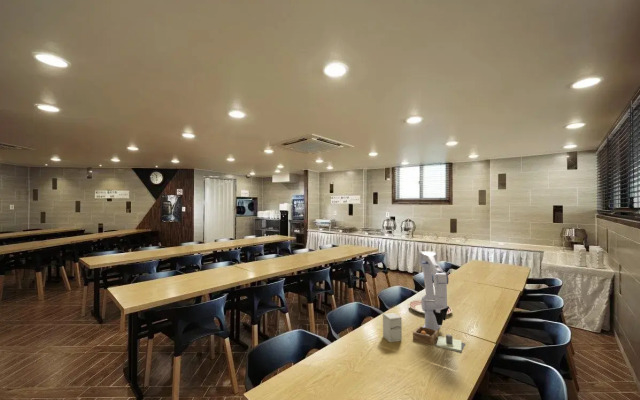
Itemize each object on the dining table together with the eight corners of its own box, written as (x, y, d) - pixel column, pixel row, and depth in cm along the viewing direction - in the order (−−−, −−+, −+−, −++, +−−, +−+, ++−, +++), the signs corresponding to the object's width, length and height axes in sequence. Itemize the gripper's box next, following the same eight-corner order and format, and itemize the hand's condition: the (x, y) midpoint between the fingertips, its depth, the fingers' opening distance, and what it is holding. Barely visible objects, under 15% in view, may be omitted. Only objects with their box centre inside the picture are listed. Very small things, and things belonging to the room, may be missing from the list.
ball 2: (425, 338, 146) (425, 332, 146) (431, 340, 144) (431, 334, 144) (423, 340, 143) (423, 334, 143) (429, 342, 141) (429, 336, 142)
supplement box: (389, 343, 141) (389, 318, 142) (382, 337, 148) (382, 313, 149) (402, 341, 143) (401, 317, 144) (394, 335, 150) (394, 312, 151)
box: (419, 333, 153) (419, 326, 153) (438, 338, 146) (438, 330, 147) (412, 339, 145) (412, 332, 145) (432, 345, 139) (432, 337, 139)
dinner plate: (443, 304, 199) (443, 300, 199) (459, 319, 172) (458, 314, 172) (405, 303, 202) (405, 299, 202) (414, 318, 175) (414, 312, 175)
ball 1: (421, 334, 150) (421, 329, 150) (427, 336, 148) (427, 330, 148) (419, 336, 148) (419, 331, 148) (425, 338, 146) (425, 332, 146)
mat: (441, 337, 147) (441, 336, 147) (465, 344, 140) (465, 343, 140) (434, 346, 138) (434, 345, 138) (460, 354, 130) (460, 353, 131)
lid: (438, 337, 147) (438, 329, 147) (461, 342, 141) (461, 333, 142) (436, 346, 137) (436, 337, 137) (461, 351, 132) (461, 342, 132)
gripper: (436, 291, 151) (436, 316, 151) (429, 298, 139) (429, 325, 139) (450, 293, 147) (450, 319, 146) (444, 301, 135) (444, 328, 135)
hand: (441, 322), depth 142 cm, fingers open, 7 cm apart
